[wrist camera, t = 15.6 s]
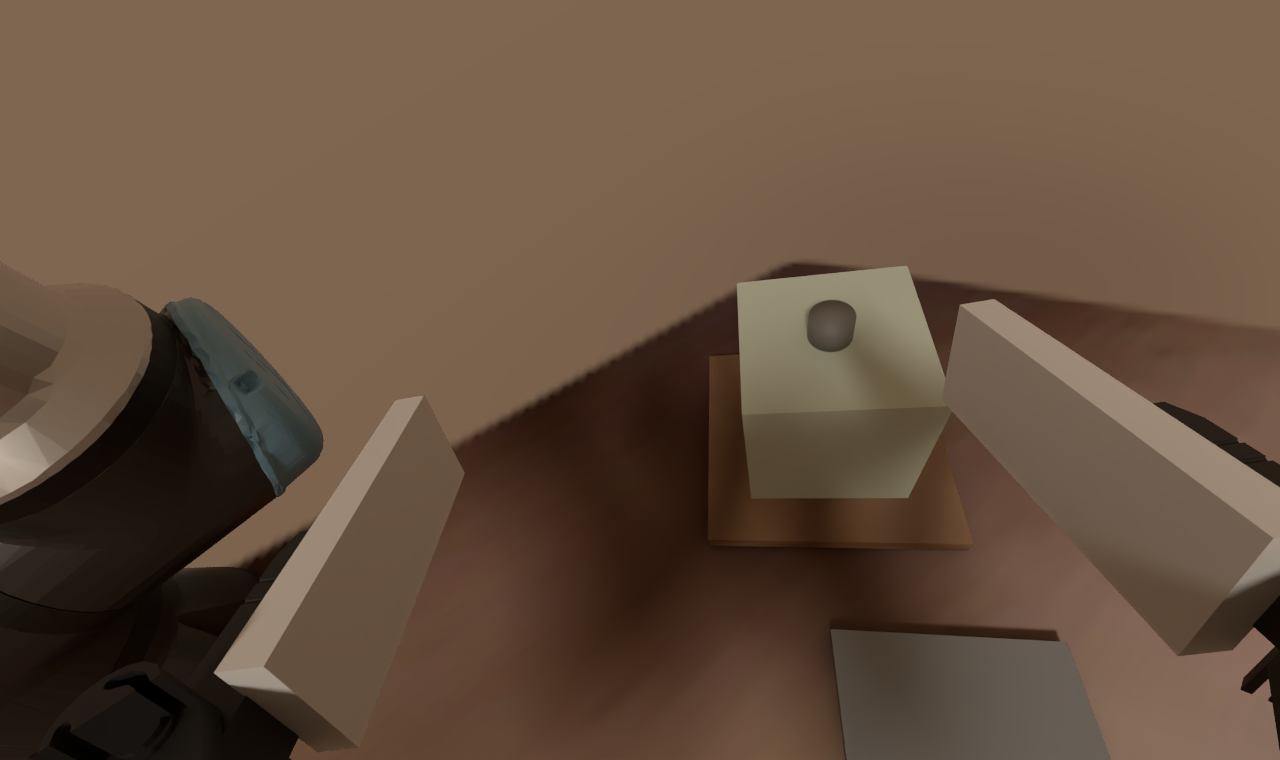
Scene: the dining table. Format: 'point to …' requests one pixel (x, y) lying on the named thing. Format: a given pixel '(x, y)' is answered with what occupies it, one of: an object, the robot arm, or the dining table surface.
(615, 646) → the dining table surface
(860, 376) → the knobbed cream cube
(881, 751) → the coaster
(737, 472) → the board
